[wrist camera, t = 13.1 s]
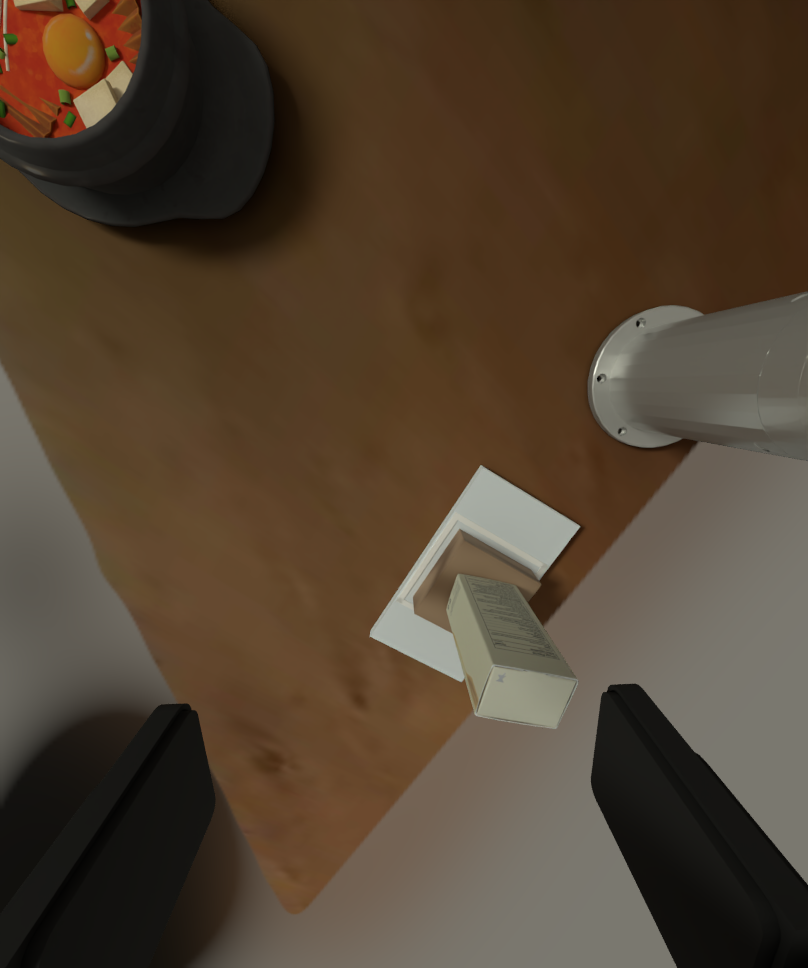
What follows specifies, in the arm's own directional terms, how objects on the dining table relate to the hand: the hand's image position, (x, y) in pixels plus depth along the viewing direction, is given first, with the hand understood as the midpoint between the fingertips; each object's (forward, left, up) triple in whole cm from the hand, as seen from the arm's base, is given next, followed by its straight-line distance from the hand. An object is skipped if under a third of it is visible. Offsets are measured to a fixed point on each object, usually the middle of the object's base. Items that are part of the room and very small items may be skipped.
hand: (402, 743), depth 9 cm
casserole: (+22, -29, -30) cm, 47 cm away
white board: (-8, +12, -29) cm, 33 cm away
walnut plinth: (-8, +12, -29) cm, 33 cm away
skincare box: (-9, +12, -26) cm, 29 cm away
